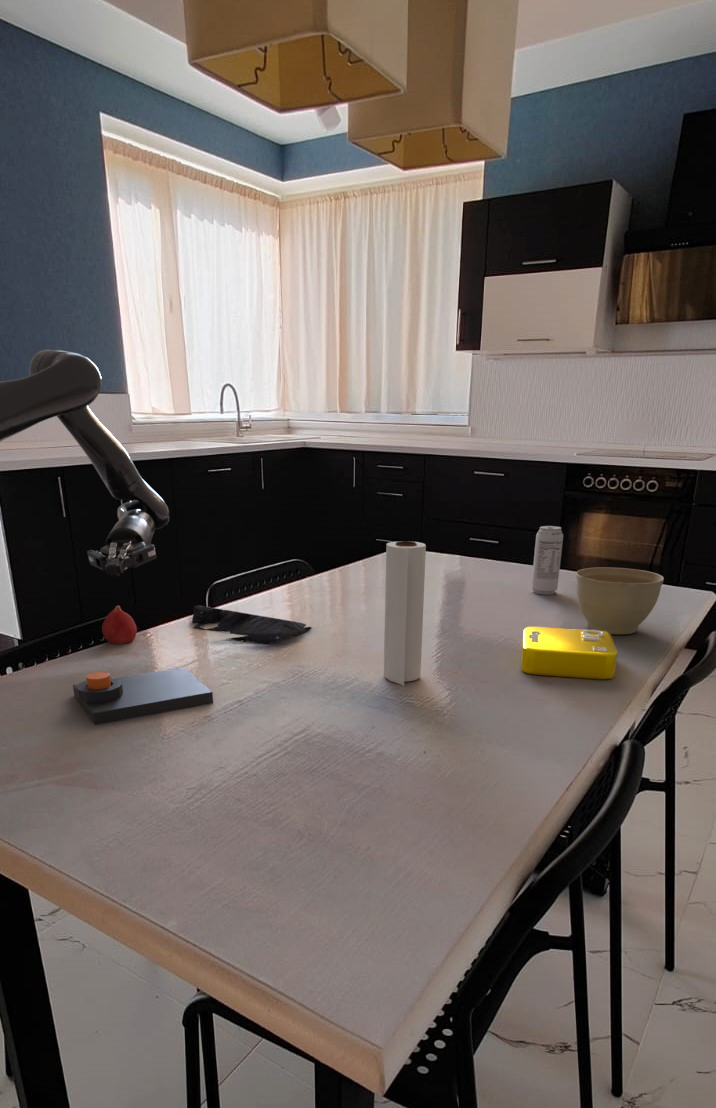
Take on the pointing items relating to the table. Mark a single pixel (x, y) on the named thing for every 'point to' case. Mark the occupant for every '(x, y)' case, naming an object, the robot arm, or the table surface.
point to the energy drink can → (547, 560)
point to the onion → (119, 627)
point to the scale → (142, 695)
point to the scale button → (98, 680)
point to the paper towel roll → (404, 610)
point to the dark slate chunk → (247, 625)
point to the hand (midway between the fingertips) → (113, 571)
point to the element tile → (568, 653)
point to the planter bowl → (617, 597)
